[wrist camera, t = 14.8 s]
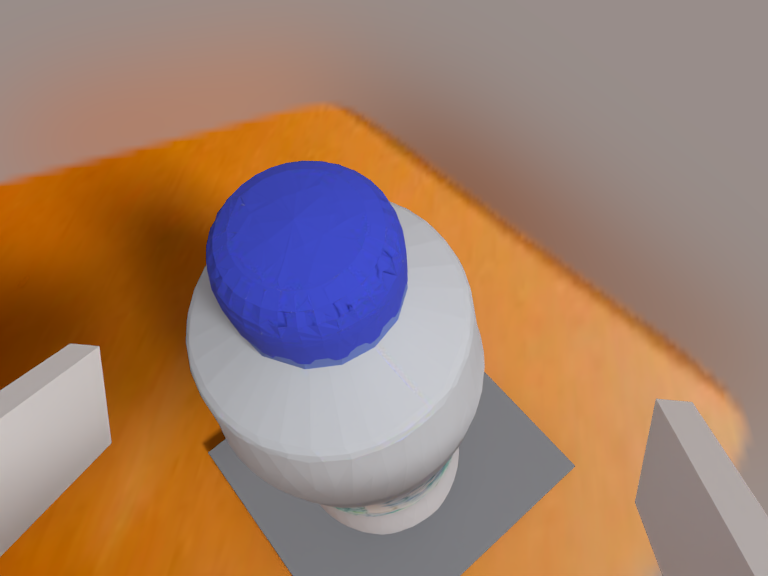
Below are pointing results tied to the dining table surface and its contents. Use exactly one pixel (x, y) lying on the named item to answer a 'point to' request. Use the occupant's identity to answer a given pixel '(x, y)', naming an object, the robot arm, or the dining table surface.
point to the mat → (437, 532)
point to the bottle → (337, 345)
